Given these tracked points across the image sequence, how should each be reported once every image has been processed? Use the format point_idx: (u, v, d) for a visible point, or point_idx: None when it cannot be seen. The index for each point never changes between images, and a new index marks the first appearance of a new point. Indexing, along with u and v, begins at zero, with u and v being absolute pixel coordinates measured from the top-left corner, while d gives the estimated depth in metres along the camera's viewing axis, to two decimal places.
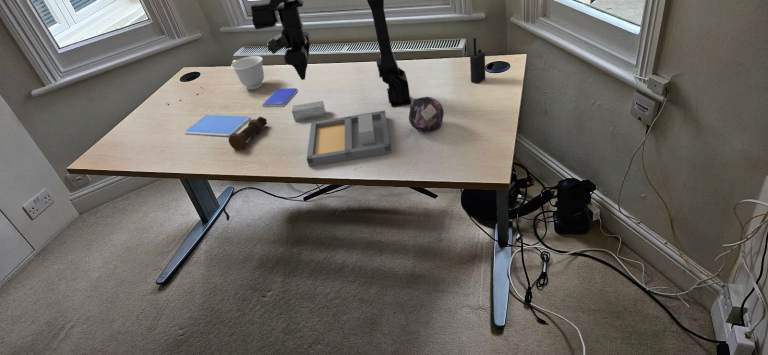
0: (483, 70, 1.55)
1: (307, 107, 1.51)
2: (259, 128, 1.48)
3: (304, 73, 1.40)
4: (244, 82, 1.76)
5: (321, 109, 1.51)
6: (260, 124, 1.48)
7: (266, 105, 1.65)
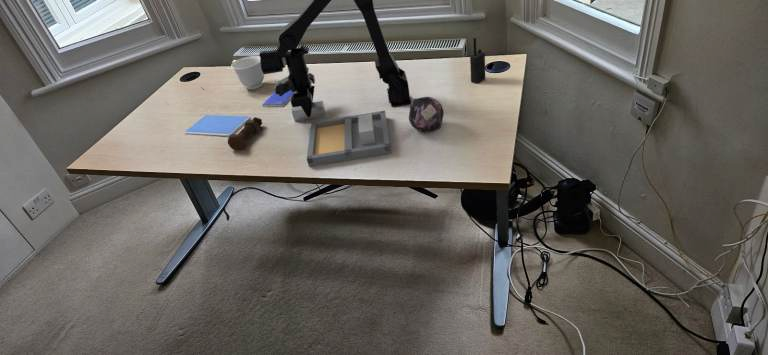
0: (483, 70, 1.55)
1: None
2: (256, 128, 1.48)
3: (310, 111, 1.50)
4: (244, 82, 1.76)
5: (321, 109, 1.51)
6: (257, 124, 1.48)
7: (266, 105, 1.65)
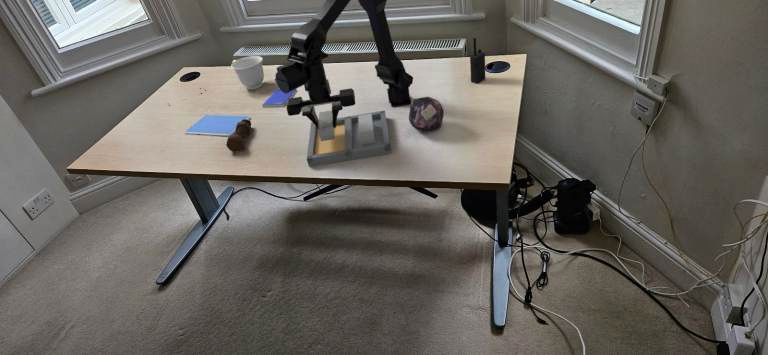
0: (483, 70, 1.55)
1: (321, 120, 1.33)
2: (249, 129, 1.48)
3: None
4: (244, 82, 1.76)
5: None
6: (248, 125, 1.49)
7: (266, 105, 1.64)
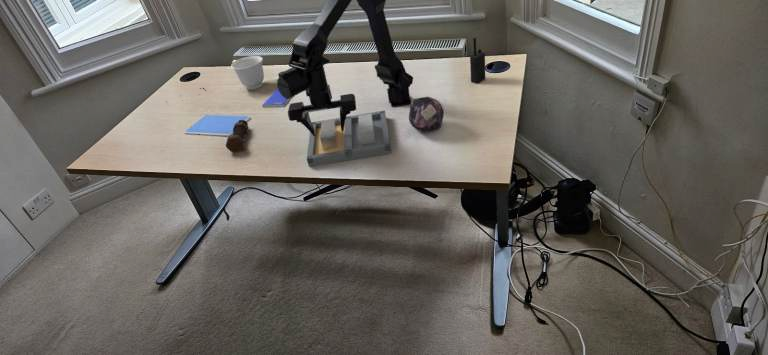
0: (483, 70, 1.55)
1: (323, 129, 1.34)
2: (246, 129, 1.48)
3: None
4: (244, 82, 1.76)
5: (321, 140, 1.31)
6: (246, 125, 1.49)
7: (266, 105, 1.64)
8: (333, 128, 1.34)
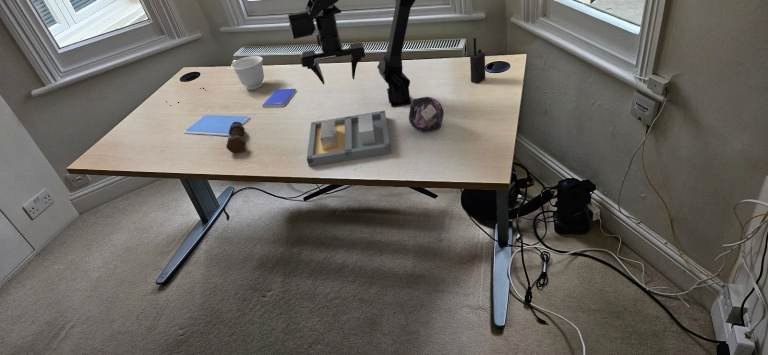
0: (483, 70, 1.55)
1: (323, 129, 1.34)
2: (243, 130, 1.48)
3: None
4: (244, 82, 1.76)
5: (321, 140, 1.31)
6: (242, 126, 1.48)
7: (266, 106, 1.64)
8: (333, 128, 1.34)
